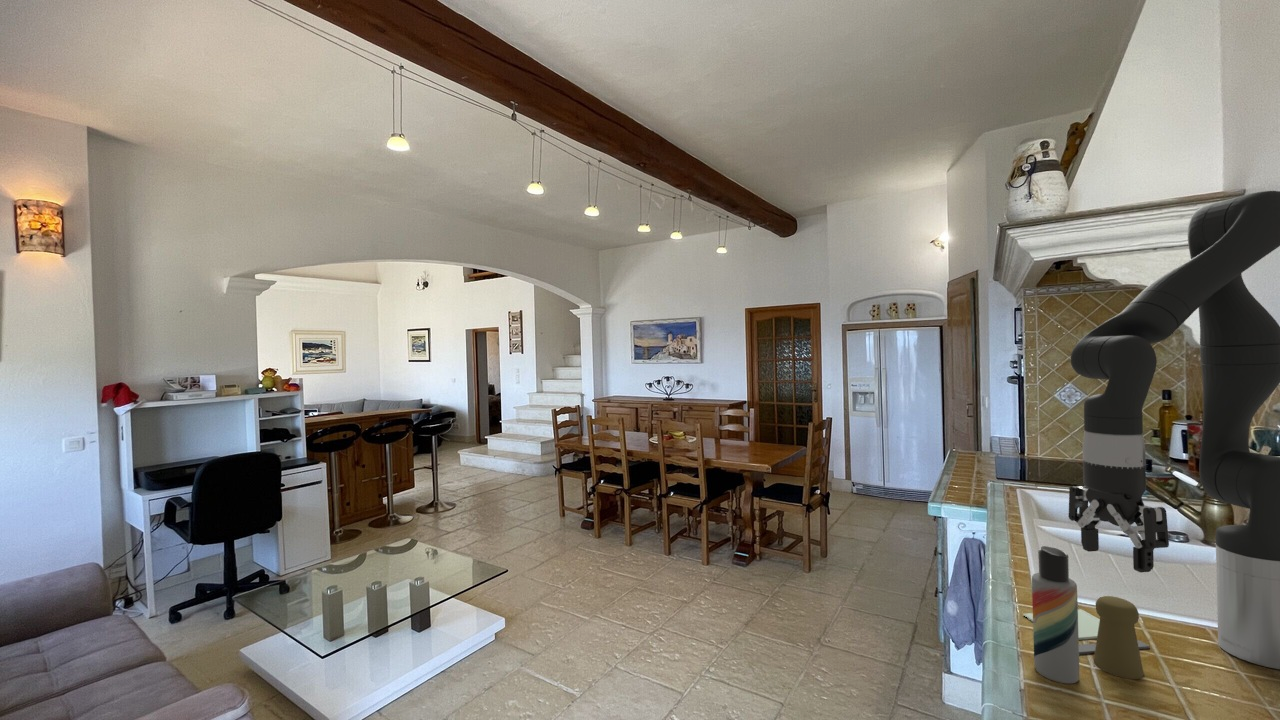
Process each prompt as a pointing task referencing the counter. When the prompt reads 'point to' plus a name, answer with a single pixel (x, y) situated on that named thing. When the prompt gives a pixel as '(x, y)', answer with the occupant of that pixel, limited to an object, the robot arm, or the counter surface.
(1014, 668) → the counter surface
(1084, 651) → the charcoal line
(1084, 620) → the mat
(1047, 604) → the lotion bottle
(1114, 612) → the cork
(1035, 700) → the counter surface
